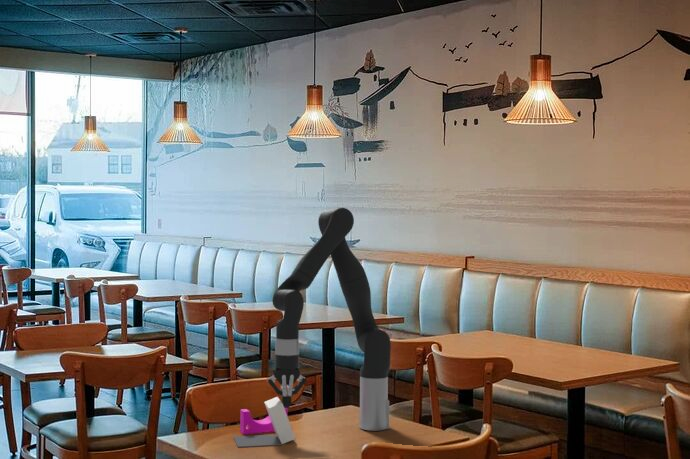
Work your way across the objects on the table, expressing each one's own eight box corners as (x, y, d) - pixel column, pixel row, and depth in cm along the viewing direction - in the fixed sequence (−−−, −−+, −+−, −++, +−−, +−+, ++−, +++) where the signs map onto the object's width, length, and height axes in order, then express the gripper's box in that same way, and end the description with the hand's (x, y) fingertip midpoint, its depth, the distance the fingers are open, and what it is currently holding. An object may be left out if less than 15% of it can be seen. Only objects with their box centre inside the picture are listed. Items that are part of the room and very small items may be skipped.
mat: (275, 435, 290) (275, 434, 290) (281, 445, 278) (281, 444, 278) (233, 437, 287) (233, 436, 287) (238, 447, 275) (238, 446, 275)
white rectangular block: (290, 431, 290) (277, 396, 289) (295, 438, 280) (282, 402, 279) (277, 436, 289) (264, 402, 288) (282, 444, 279) (268, 408, 278)
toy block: (280, 426, 303) (281, 404, 303) (287, 431, 298) (287, 408, 297) (237, 430, 297) (238, 408, 297) (243, 434, 291) (243, 411, 291)
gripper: (305, 350, 289) (304, 404, 289) (264, 351, 286) (263, 406, 286) (310, 354, 282) (309, 409, 282) (268, 354, 279) (267, 410, 279)
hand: (286, 407), depth 284 cm, fingers closed
